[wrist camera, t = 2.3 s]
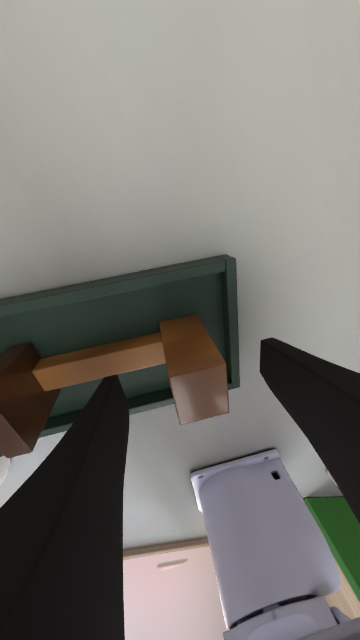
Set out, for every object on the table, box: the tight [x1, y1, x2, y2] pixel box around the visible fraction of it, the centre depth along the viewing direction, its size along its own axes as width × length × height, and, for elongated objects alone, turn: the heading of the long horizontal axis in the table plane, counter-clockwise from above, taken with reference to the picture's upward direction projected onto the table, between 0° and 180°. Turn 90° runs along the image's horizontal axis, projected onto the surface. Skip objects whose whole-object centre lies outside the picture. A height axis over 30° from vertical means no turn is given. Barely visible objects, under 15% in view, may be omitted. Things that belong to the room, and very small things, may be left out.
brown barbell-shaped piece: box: [0, 314, 229, 458], centre depth 11 cm, size 12×4×5 cm, turn 99°
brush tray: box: [0, 255, 240, 438], centre depth 13 cm, size 16×9×1 cm, turn 99°
